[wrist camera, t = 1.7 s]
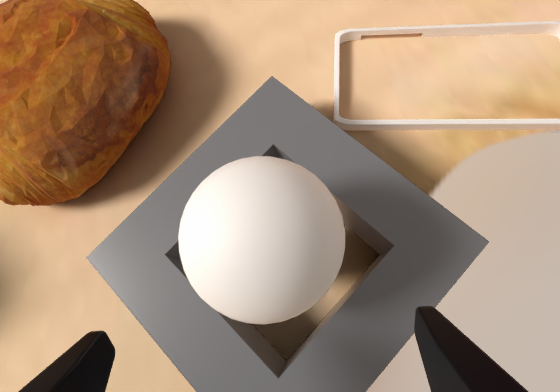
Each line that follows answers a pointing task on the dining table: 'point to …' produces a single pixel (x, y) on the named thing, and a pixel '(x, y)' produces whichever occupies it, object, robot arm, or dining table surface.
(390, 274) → the socket block
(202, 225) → the lightbulb
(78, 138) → the croissant
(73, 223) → the dining table surface
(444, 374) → the robot arm
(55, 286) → the dining table surface
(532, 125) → the phone case
